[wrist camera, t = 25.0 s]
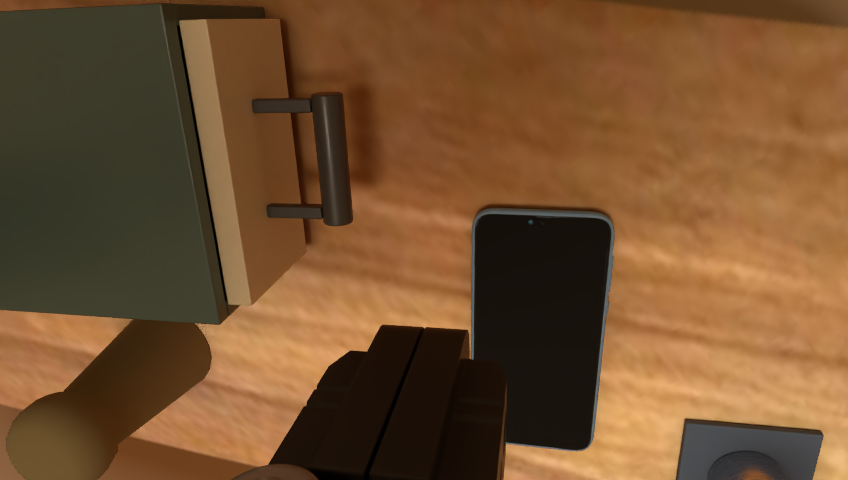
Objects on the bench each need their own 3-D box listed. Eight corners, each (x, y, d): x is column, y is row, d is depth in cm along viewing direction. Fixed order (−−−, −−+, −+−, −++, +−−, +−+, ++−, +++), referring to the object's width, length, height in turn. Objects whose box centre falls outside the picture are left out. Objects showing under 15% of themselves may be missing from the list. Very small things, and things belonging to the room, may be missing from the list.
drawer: (361, 15, 28) (308, 14, 22) (378, 254, 32) (338, 311, 26) (62, 27, 31) (-60, 30, 25) (114, 243, 35) (22, 292, 29)
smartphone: (469, 442, 35) (470, 210, 30) (471, 432, 36) (472, 205, 31) (594, 456, 34) (618, 215, 29) (593, 446, 35) (617, 210, 29)
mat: (671, 512, 36) (672, 517, 35) (685, 418, 33) (686, 423, 33) (796, 527, 34) (799, 532, 34) (820, 430, 32) (824, 435, 31)
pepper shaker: (175, 294, 37) (36, 399, 27) (228, 369, 38) (115, 496, 28) (111, 327, 39) (-40, 436, 29) (164, 398, 40) (37, 525, 30)
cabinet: (263, 7, 29) (160, 3, 22) (294, 254, 34) (219, 325, 26) (35, 17, 32) (-131, 17, 24) (94, 246, 37) (-29, 308, 29)
